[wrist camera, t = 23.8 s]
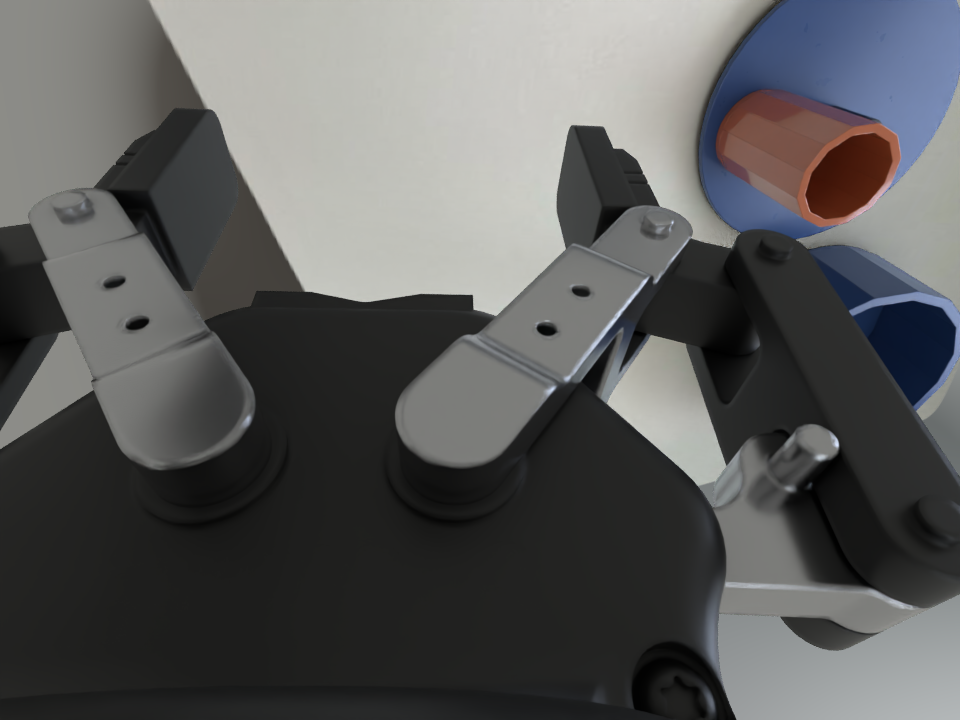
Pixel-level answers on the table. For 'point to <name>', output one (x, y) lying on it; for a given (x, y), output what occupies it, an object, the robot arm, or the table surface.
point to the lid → (837, 84)
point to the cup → (808, 155)
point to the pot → (896, 318)
